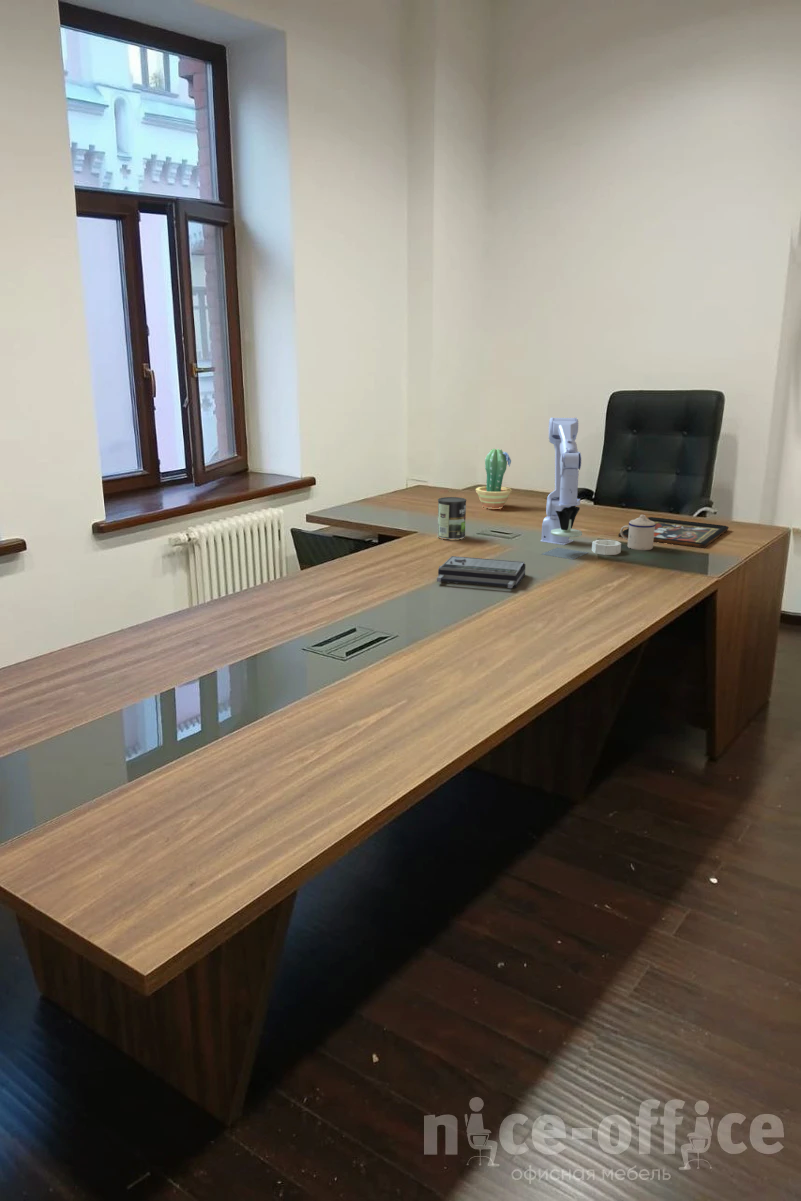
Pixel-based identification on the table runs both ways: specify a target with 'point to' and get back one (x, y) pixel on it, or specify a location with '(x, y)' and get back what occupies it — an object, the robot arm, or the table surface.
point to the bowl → (606, 547)
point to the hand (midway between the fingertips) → (566, 528)
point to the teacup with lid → (640, 533)
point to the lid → (566, 532)
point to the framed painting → (684, 532)
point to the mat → (565, 553)
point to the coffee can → (451, 517)
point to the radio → (482, 571)
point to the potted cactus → (495, 480)
